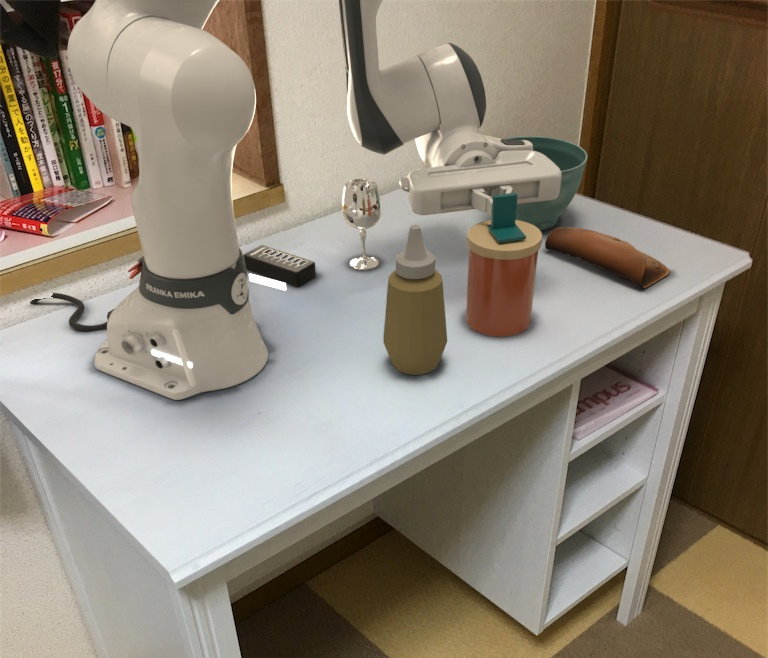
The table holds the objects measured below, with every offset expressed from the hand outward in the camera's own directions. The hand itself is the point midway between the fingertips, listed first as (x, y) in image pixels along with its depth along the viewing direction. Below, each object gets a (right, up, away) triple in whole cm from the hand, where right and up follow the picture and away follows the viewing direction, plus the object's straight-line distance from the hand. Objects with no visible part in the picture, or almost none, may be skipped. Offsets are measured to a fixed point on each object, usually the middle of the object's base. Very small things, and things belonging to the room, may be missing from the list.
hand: (502, 209), depth 102 cm
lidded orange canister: (+1, -12, +9) cm, 15 cm away
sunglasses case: (+19, -1, +21) cm, 28 cm away
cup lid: (+1, -4, +2) cm, 4 cm away
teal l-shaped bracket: (+1, -3, 0) cm, 3 cm away
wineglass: (-18, 0, +23) cm, 29 cm away
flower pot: (+9, +10, +33) cm, 36 cm away
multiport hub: (-31, -2, +22) cm, 37 cm away
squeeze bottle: (-11, -19, +2) cm, 22 cm away
